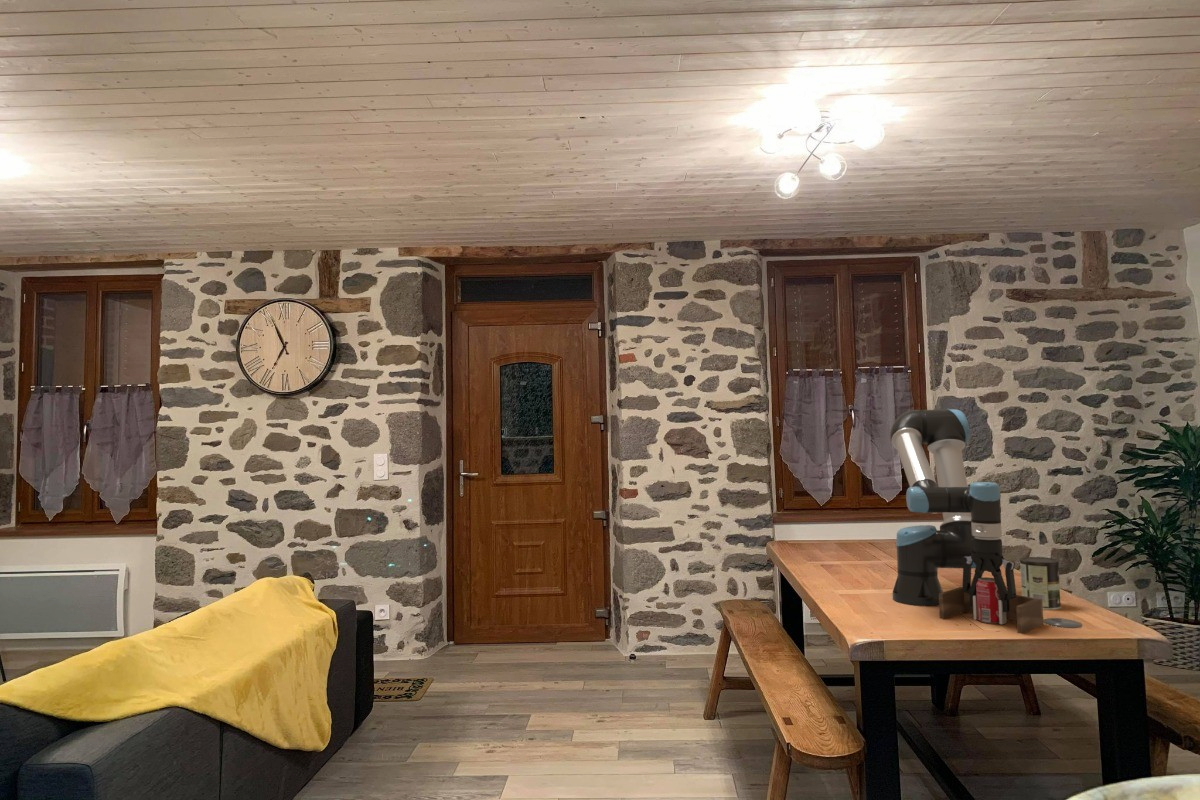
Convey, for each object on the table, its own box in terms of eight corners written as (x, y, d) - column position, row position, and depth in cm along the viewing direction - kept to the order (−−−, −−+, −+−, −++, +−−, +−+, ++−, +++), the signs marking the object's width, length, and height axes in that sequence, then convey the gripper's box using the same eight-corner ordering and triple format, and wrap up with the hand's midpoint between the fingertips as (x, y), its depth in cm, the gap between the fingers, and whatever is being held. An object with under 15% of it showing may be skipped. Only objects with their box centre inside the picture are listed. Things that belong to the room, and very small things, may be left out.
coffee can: (1053, 603, 228) (1050, 556, 228) (1067, 611, 217) (1064, 562, 218) (1016, 602, 230) (1014, 556, 230) (1028, 610, 220) (1026, 562, 220)
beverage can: (1000, 620, 208) (998, 577, 209) (1004, 626, 202) (1002, 581, 203) (975, 619, 210) (974, 576, 211) (979, 624, 204) (977, 580, 205)
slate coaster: (1037, 624, 204) (1037, 622, 204) (1050, 618, 209) (1050, 616, 209) (1074, 630, 197) (1074, 628, 197) (1087, 624, 202) (1086, 622, 202)
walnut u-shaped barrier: (939, 619, 211) (938, 593, 211) (962, 611, 219) (961, 586, 220) (1022, 634, 194) (1021, 607, 194) (1043, 625, 202) (1042, 598, 203)
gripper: (946, 535, 212) (949, 617, 211) (1017, 542, 197) (1021, 630, 196) (958, 533, 217) (961, 612, 216) (1029, 539, 202) (1032, 625, 201)
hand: (989, 620), depth 206 cm, fingers closed on beverage can, 6 cm apart
